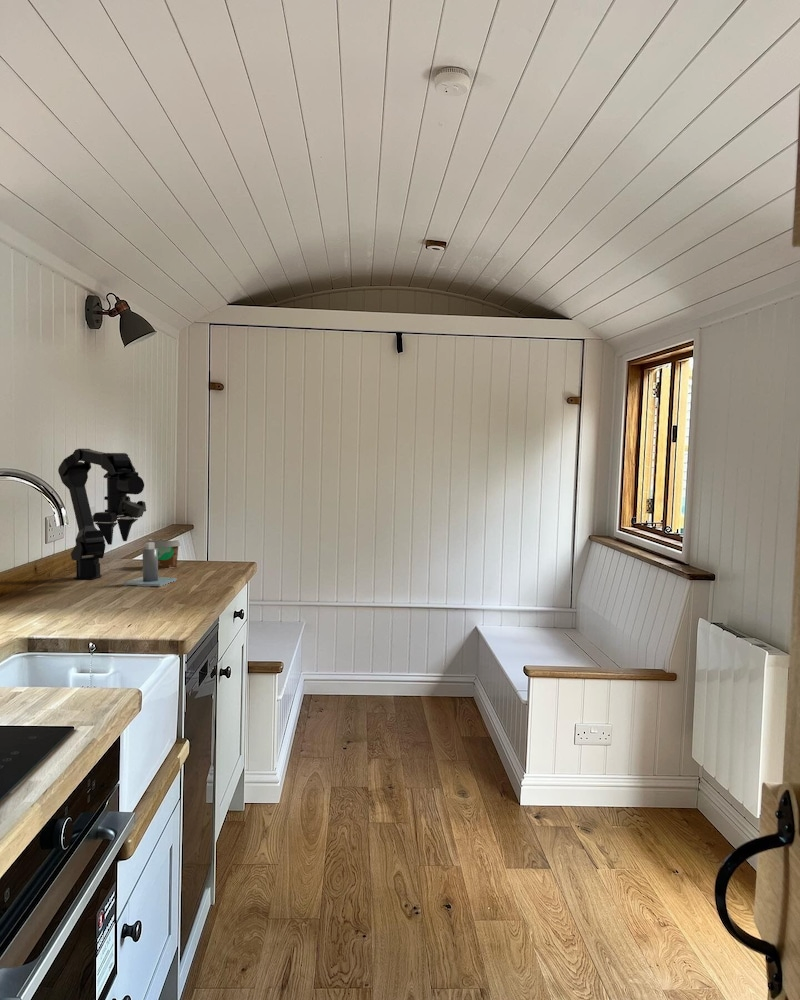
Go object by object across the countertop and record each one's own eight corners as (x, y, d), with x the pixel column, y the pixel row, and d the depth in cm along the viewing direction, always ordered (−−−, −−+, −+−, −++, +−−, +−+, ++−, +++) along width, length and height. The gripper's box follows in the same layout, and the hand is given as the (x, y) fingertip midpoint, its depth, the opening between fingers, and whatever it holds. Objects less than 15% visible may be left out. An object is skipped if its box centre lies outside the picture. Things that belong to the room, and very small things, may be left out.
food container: (140, 568, 275) (139, 540, 275) (150, 565, 281) (150, 538, 280) (170, 570, 272) (170, 541, 271) (180, 567, 278) (180, 540, 277)
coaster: (123, 585, 241) (123, 582, 241) (142, 579, 253) (142, 576, 253) (159, 586, 239) (159, 584, 239) (176, 580, 251) (176, 578, 251)
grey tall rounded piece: (139, 580, 245) (139, 542, 245) (151, 578, 249) (150, 541, 248) (149, 581, 243) (149, 543, 242) (161, 579, 247) (160, 542, 246)
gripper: (125, 495, 231) (126, 547, 232) (155, 492, 250) (155, 540, 251) (91, 494, 233) (92, 546, 234) (122, 491, 251) (123, 539, 252)
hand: (117, 542), depth 243 cm, fingers open, 9 cm apart
